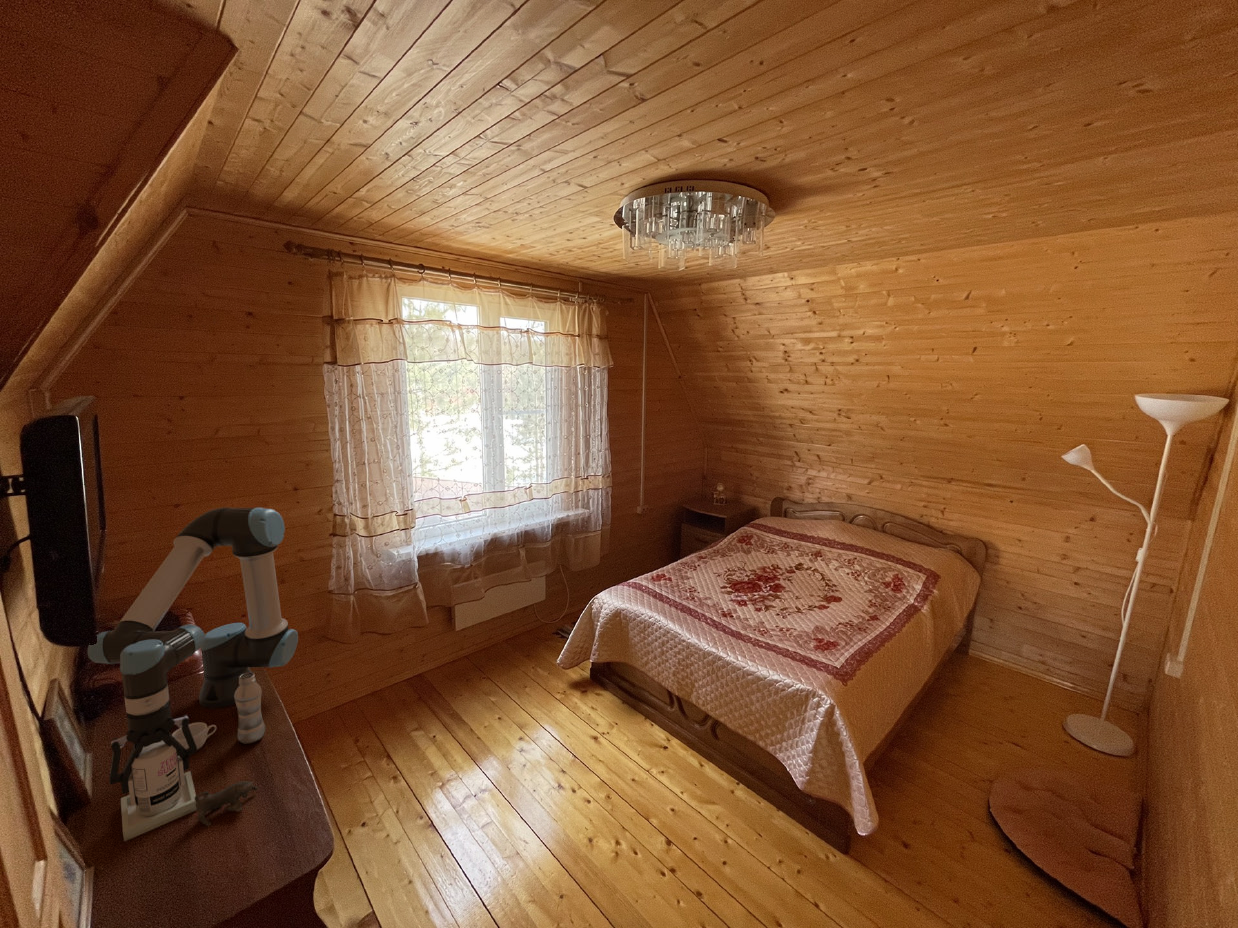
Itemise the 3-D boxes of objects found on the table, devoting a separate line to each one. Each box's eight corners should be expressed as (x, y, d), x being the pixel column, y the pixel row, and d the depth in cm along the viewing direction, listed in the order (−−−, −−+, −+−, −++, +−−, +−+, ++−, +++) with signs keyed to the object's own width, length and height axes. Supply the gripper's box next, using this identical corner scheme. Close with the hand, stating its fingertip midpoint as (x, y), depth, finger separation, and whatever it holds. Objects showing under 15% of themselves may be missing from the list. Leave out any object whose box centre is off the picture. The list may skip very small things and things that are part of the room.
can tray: (121, 807, 124) (120, 798, 124) (191, 779, 133) (190, 770, 133) (124, 841, 115) (122, 832, 115) (198, 809, 124) (197, 800, 124)
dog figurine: (197, 831, 119) (193, 803, 117) (197, 814, 123) (194, 787, 122) (260, 805, 126) (257, 779, 125) (257, 790, 131) (255, 765, 129)
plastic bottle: (251, 748, 145) (246, 684, 142) (232, 744, 146) (226, 680, 143) (271, 733, 151) (266, 671, 148) (252, 730, 153) (247, 668, 149)
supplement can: (145, 796, 126) (138, 742, 124) (187, 787, 129) (181, 733, 127) (130, 822, 119) (122, 765, 116) (174, 811, 122) (168, 755, 120)
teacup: (176, 762, 139) (174, 744, 138) (169, 749, 144) (167, 732, 143) (221, 743, 147) (219, 726, 146) (213, 731, 151) (212, 715, 150)
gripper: (83, 735, 110) (96, 827, 114) (207, 695, 125) (215, 778, 128) (84, 718, 115) (96, 807, 119) (203, 682, 130) (210, 762, 134)
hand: (158, 791), depth 124 cm, fingers closed on supplement can, 8 cm apart
